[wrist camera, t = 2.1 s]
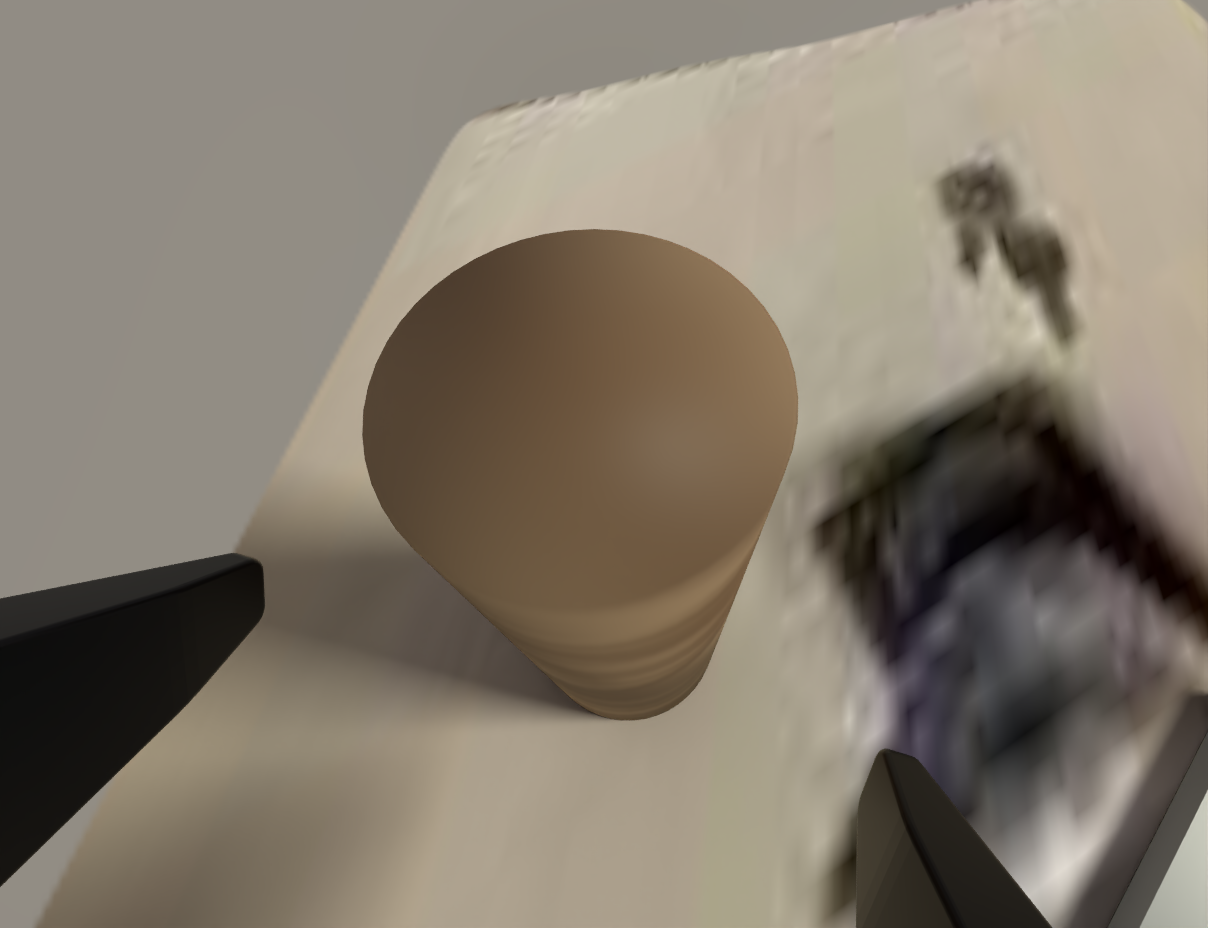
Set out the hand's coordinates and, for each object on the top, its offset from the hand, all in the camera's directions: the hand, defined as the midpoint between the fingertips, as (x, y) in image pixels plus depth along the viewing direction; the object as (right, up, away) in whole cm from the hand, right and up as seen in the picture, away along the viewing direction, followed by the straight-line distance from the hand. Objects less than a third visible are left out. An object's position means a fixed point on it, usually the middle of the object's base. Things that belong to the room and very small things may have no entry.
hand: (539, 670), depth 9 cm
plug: (+2, -2, +10) cm, 10 cm away
